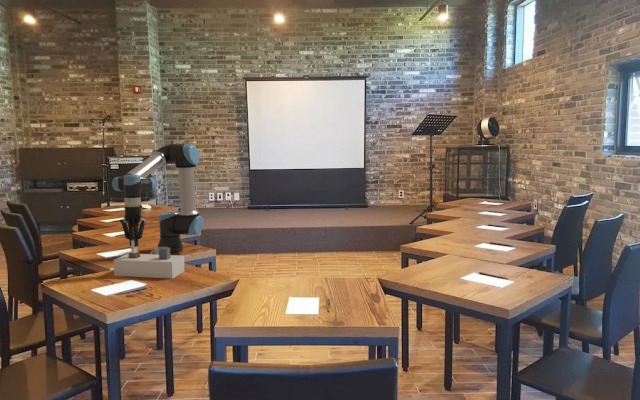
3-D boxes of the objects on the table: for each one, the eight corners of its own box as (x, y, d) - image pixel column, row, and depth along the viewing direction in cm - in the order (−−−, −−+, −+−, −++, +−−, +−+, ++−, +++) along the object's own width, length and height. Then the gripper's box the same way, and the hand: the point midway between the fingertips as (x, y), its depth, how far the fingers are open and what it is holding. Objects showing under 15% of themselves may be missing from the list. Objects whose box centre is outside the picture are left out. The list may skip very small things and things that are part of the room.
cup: (166, 266, 252) (165, 249, 251) (147, 265, 253) (147, 249, 252) (170, 262, 260) (170, 246, 259) (152, 262, 260) (152, 246, 259)
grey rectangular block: (129, 268, 247) (128, 253, 246) (184, 271, 243) (184, 255, 242) (114, 275, 233) (113, 259, 232) (172, 278, 229) (172, 262, 228)
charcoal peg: (162, 261, 238) (162, 247, 238) (170, 261, 238) (170, 247, 237) (159, 263, 234) (158, 249, 234) (166, 263, 234) (166, 249, 233)
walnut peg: (133, 265, 241) (132, 252, 240) (140, 266, 240) (140, 252, 240) (129, 267, 237) (128, 253, 236) (136, 268, 236) (136, 254, 236)
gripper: (116, 206, 232) (117, 253, 235) (141, 207, 231) (142, 254, 233) (124, 204, 240) (126, 250, 242) (148, 205, 238) (150, 251, 240)
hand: (134, 252), depth 238 cm, fingers closed
